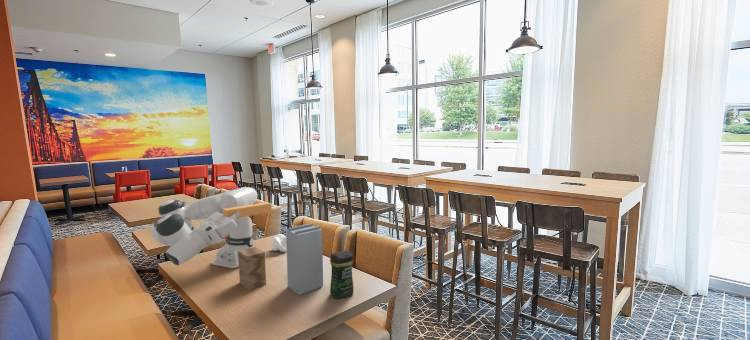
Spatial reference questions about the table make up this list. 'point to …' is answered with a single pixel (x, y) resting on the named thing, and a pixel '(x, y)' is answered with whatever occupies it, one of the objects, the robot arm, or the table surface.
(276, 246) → the crumpled paper ball
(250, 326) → the table surface
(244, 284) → the brown piece
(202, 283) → the table surface
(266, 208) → the tan wooden bar
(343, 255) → the coffee jar
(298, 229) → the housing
